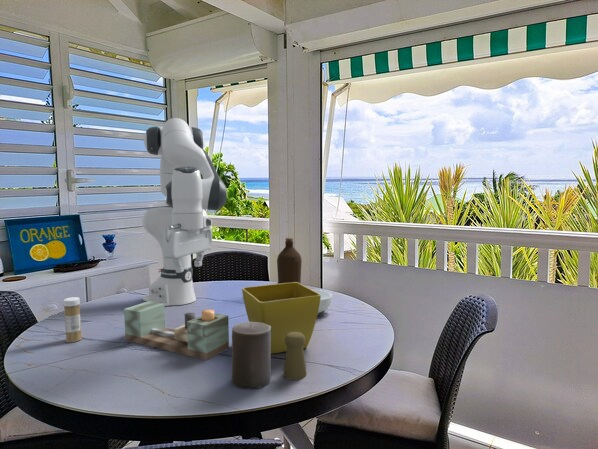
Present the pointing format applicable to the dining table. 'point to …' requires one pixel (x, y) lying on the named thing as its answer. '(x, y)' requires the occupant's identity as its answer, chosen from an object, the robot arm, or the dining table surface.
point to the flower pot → (283, 310)
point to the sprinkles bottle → (72, 319)
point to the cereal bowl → (324, 300)
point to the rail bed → (151, 331)
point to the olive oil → (289, 264)
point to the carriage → (183, 328)
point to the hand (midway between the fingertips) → (189, 269)
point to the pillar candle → (251, 355)
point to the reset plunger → (208, 315)
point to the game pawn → (295, 356)
